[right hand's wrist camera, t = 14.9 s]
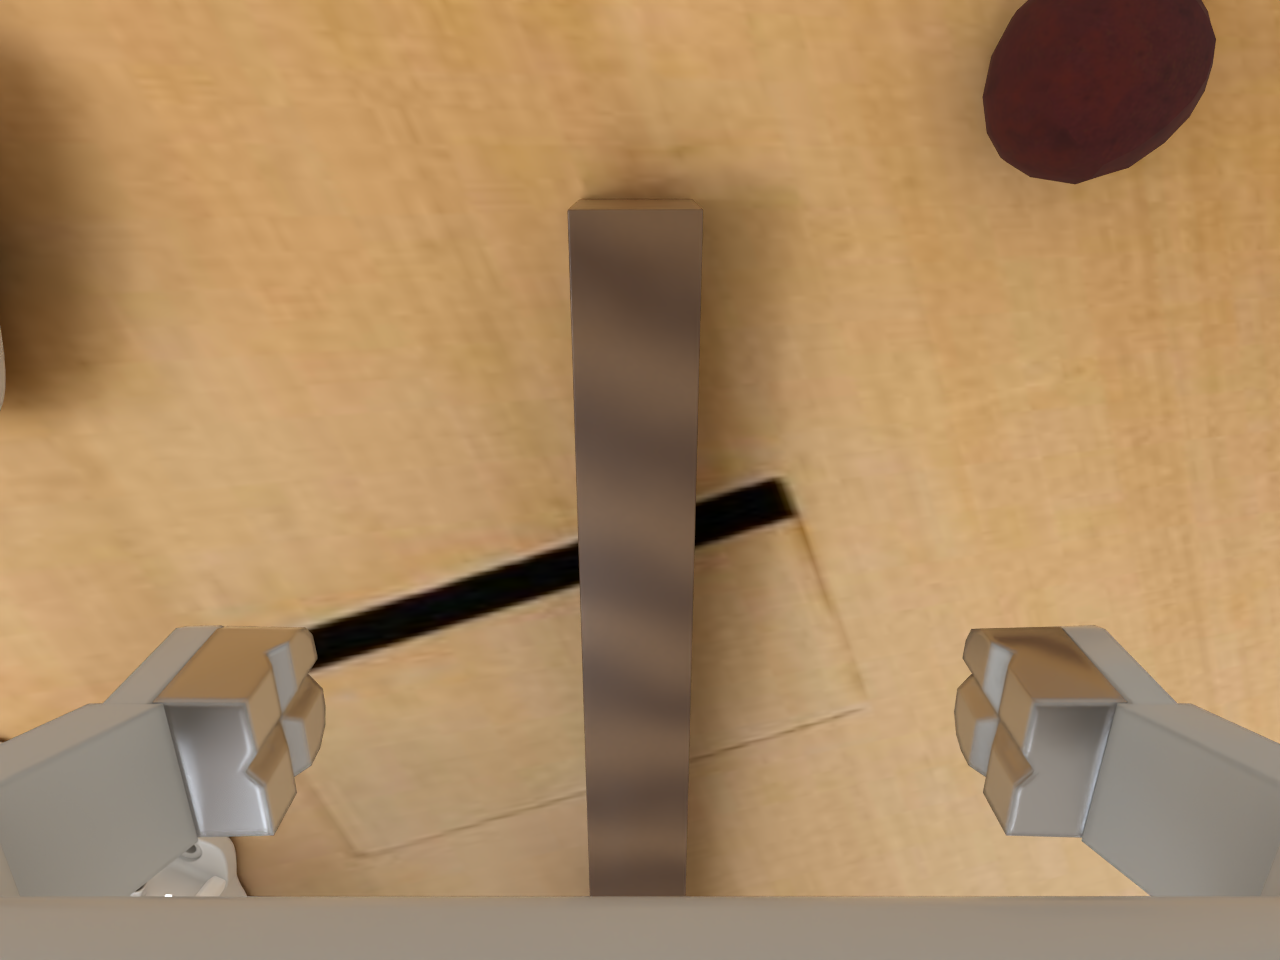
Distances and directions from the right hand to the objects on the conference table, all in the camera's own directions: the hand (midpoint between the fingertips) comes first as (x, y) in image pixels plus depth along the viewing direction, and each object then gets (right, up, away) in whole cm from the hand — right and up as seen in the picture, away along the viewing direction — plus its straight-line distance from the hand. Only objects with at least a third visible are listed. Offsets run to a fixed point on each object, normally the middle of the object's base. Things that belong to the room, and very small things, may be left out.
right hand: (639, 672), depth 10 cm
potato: (+17, +19, +25) cm, 35 cm away
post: (0, -22, +41) cm, 47 cm away
